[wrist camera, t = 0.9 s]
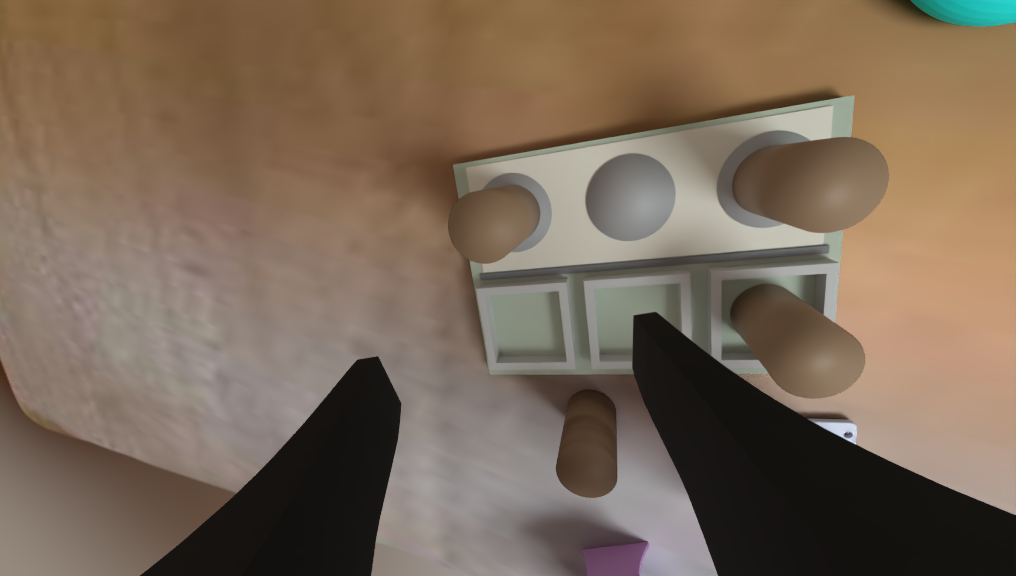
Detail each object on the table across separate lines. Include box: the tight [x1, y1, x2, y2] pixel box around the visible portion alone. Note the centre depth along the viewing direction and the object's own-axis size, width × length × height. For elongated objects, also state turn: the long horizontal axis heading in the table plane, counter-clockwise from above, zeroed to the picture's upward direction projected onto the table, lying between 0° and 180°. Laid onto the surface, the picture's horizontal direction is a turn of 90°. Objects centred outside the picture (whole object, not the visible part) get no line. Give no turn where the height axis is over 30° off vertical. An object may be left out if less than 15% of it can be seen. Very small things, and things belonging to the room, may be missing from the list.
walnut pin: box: [556, 390, 617, 498], centre depth 29 cm, size 4×4×7 cm
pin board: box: [448, 95, 889, 398], centre depth 24 cm, size 17×24×8 cm
